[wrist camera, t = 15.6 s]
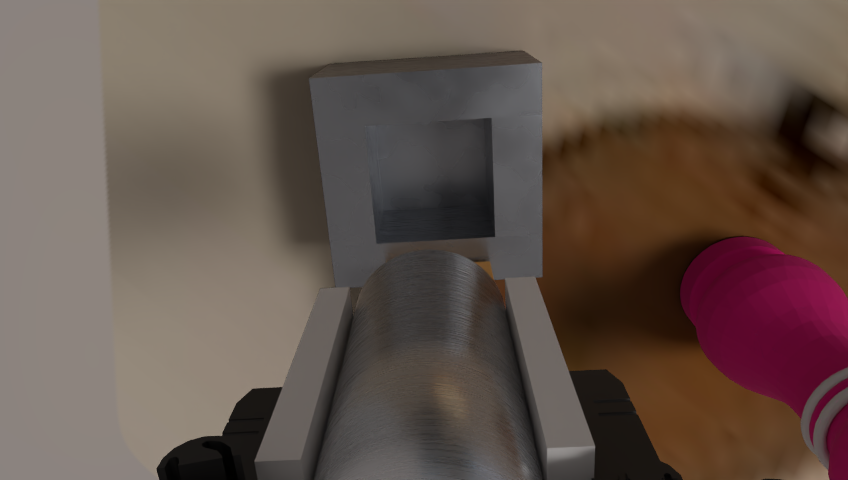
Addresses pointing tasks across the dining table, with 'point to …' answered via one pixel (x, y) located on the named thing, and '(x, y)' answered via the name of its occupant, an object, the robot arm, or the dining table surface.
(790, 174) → the dining table surface
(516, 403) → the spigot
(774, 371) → the pepper mill
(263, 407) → the robot arm
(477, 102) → the dock
